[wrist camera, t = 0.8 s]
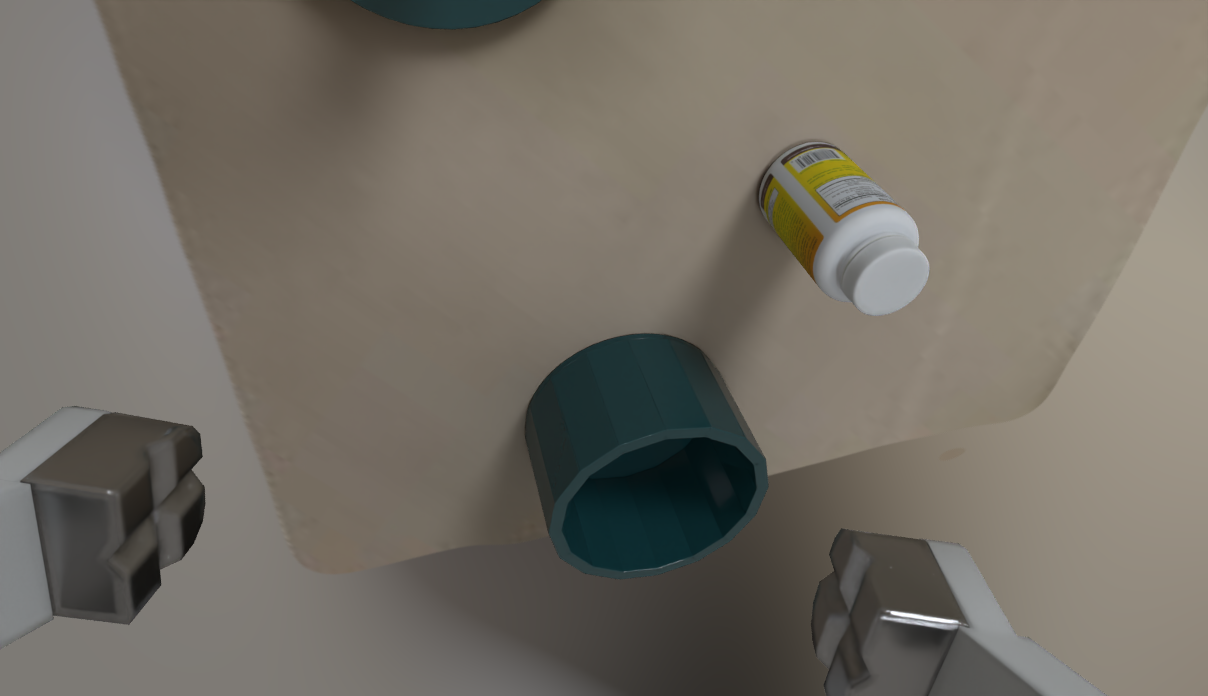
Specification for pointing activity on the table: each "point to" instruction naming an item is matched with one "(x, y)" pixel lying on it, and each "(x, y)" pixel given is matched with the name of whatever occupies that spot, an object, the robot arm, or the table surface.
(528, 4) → the lid
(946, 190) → the table surface
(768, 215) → the supplement bottle
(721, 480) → the pot
